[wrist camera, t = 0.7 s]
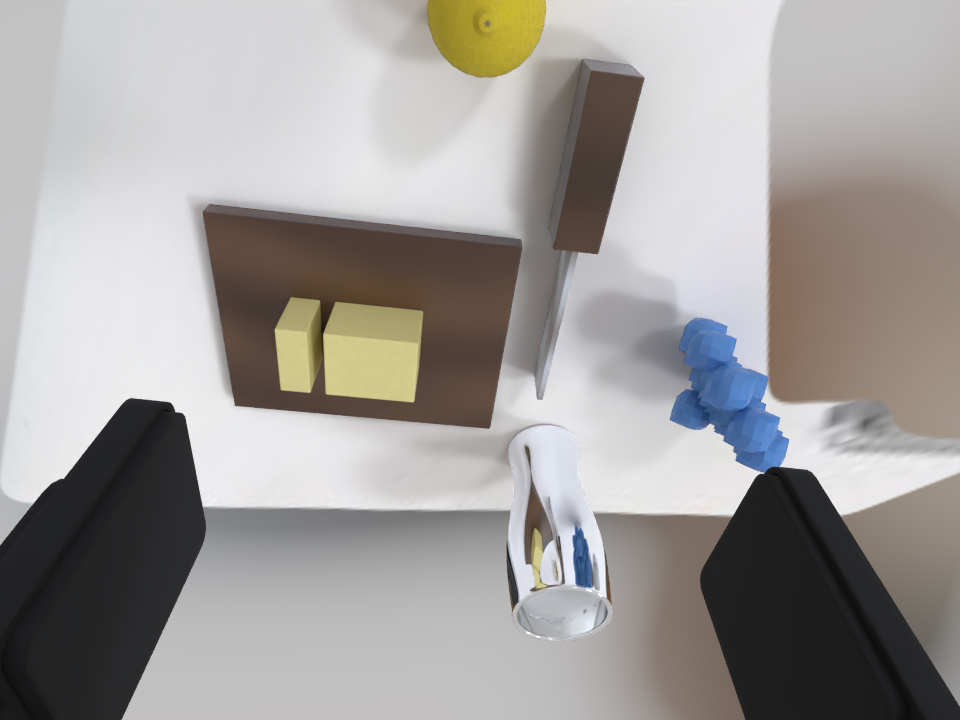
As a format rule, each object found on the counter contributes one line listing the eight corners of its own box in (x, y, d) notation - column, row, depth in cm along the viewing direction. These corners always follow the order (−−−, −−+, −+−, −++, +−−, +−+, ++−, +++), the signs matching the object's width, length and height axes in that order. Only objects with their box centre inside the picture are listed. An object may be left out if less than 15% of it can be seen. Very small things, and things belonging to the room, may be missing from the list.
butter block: (335, 301, 40) (322, 334, 37) (423, 310, 41) (418, 343, 37) (337, 359, 43) (325, 395, 40) (418, 367, 44) (414, 402, 40)
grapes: (616, 312, 42) (656, 427, 33) (707, 265, 40) (779, 374, 30) (678, 414, 48) (728, 538, 38) (761, 378, 46) (836, 500, 36)
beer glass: (529, 408, 48) (544, 573, 36) (600, 438, 50) (638, 603, 37) (487, 462, 51) (489, 628, 39) (555, 487, 53) (577, 653, 41)
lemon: (438, 63, 33) (428, 98, 26) (427, -60, 29) (412, -54, 23) (539, 57, 32) (553, 90, 26) (538, -68, 29) (555, -65, 23)
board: (209, 203, 37) (202, 211, 36) (521, 239, 39) (522, 247, 38) (239, 396, 47) (234, 406, 46) (489, 418, 48) (489, 429, 47)
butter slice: (290, 296, 40) (274, 329, 37) (320, 299, 40) (306, 332, 37) (295, 355, 43) (280, 390, 40) (323, 358, 43) (310, 393, 40)
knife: (582, 58, 32) (591, 70, 30) (632, 65, 33) (645, 77, 30) (518, 372, 45) (521, 399, 43) (554, 376, 46) (558, 403, 43)
